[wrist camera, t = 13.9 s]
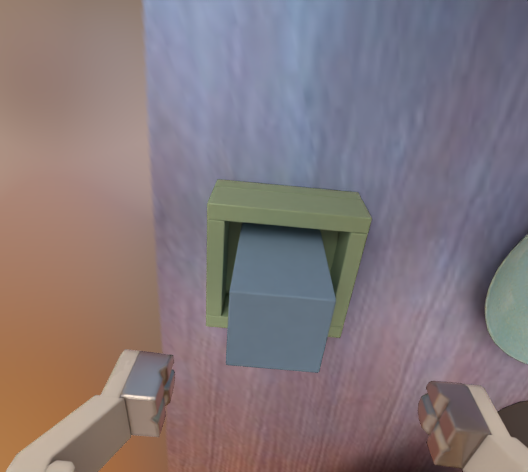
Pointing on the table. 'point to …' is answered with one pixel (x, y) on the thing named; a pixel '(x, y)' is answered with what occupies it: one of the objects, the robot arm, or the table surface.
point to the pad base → (290, 215)
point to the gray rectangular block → (279, 299)
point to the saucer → (510, 304)
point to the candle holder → (516, 421)
